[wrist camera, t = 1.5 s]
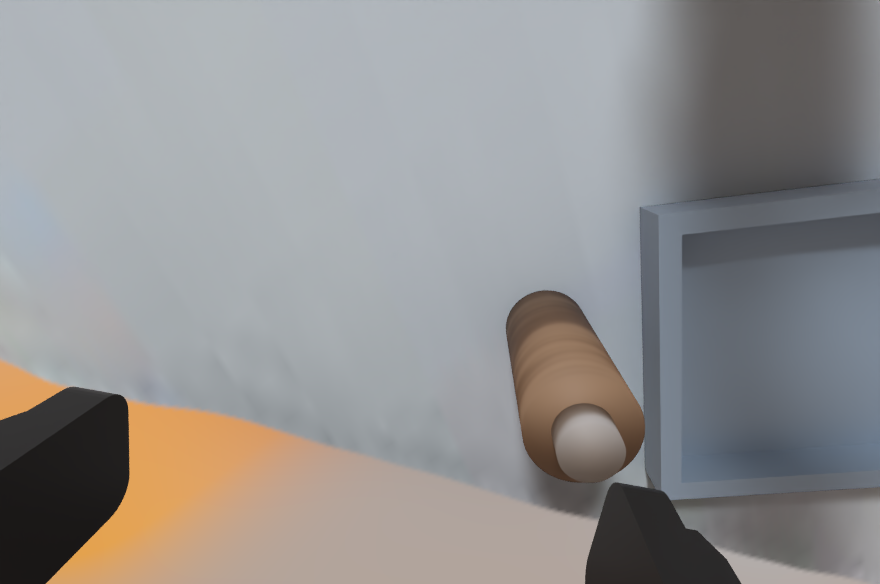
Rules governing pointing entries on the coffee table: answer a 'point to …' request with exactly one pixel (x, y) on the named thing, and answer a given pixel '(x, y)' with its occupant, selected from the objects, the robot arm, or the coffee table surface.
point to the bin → (762, 342)
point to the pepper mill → (570, 392)
